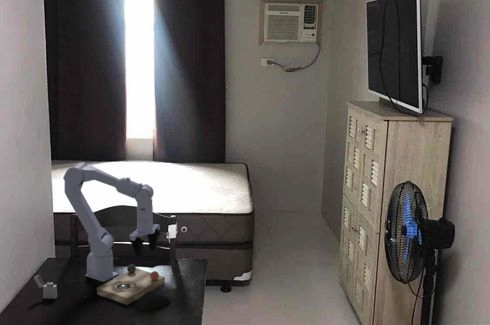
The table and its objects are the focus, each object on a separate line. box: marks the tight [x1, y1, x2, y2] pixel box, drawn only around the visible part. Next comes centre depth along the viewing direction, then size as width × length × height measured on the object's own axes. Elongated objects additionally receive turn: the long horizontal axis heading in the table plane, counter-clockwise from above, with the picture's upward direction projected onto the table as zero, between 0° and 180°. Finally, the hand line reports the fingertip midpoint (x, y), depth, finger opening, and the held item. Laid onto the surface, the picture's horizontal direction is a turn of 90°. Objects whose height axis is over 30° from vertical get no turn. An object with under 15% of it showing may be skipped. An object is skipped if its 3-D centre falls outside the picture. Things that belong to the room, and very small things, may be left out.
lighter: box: [33, 274, 58, 300], centre depth 180 cm, size 7×2×8 cm, turn 90°
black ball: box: [126, 264, 137, 273], centre depth 196 cm, size 3×3×3 cm
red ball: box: [150, 270, 160, 280], centre depth 190 cm, size 3×3×3 cm
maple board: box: [96, 267, 166, 306], centre depth 189 cm, size 14×20×2 cm
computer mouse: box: [134, 289, 171, 312], centre depth 178 cm, size 6×11×4 cm, turn 131°
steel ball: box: [119, 285, 128, 290], centre depth 185 cm, size 3×3×3 cm
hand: (145, 252), depth 196 cm, fingers open, 7 cm apart
